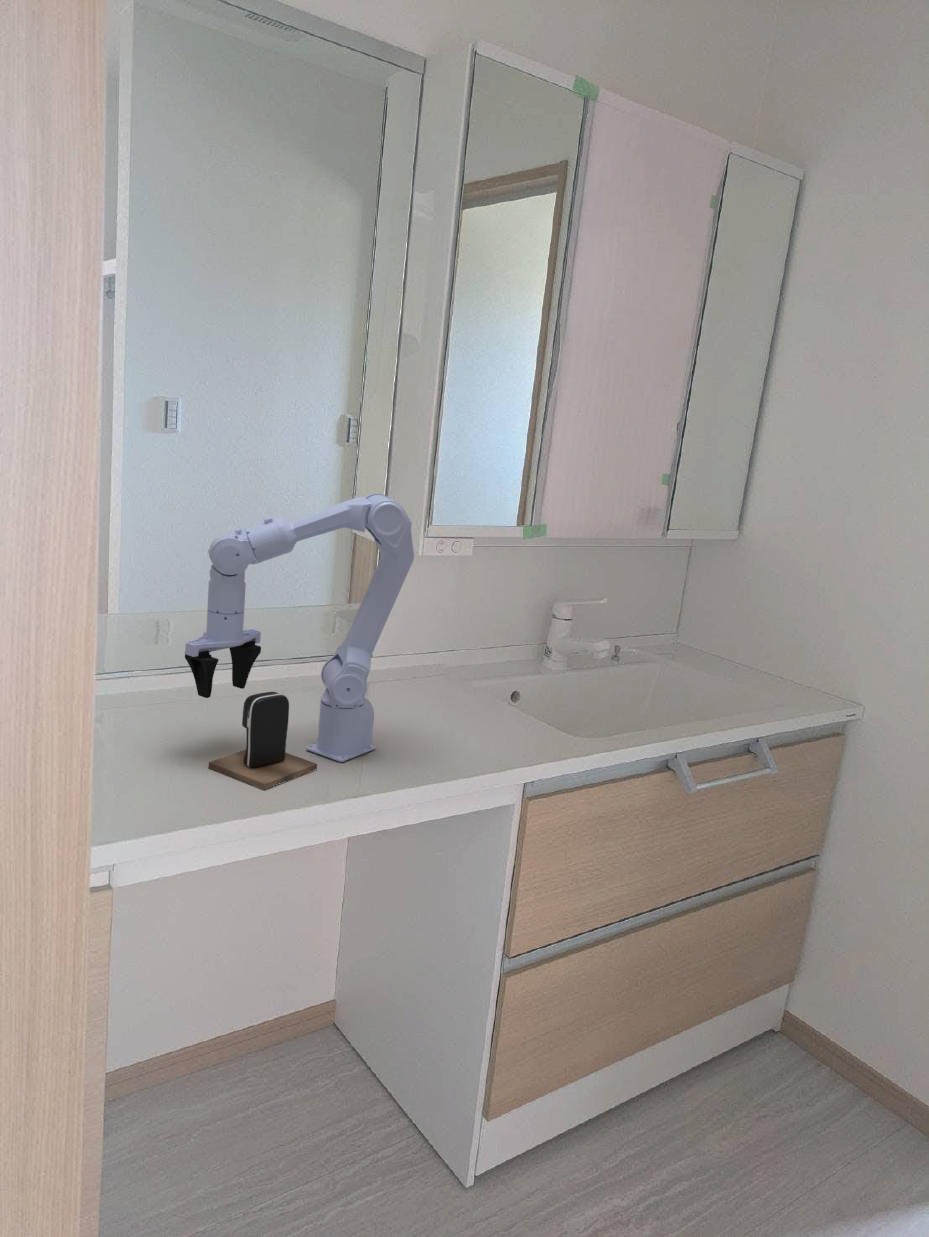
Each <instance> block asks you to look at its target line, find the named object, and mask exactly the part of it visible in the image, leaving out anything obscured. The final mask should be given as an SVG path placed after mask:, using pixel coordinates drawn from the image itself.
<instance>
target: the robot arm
mask: <svg viewBox="0 0 929 1237" xmlns="http://www.w3.org/2000/svg"><path fill="white" fill-rule="evenodd" d="M344 528H346V529H350V530H354V531H358V532H362V533H365V532H366V530H367V531H368V533H369V534H370V535H371V536H372V537H373V539H374V542H375V543H376V544H375V545H376V546H377V549H378V550H379V553H380V559H379V561H378V564H377V565H376V569H375V571H374V573H373V575H372V577H371V579H370V582H369V584H368V586H367V589H366V591H365V593H364V596H363V597H362V600H361V601H360V602H361V603H360V605H359V607H358V609H357V611H356V614H355V616H354V618H353V621H352V623H351V625H350V627H349V630H348V632H347V634H346V637H345V639H344V640H343V642H341V644H339V646H337V647H336V650H335V653H334V654H333V656H331V657H330V658H329V659H328V660H327V661H326V662H325V663H324V664H323V666H322V668H321V672H320V675H321V676H320V677H321V680H322V683H323V684H324V686H325V689H324V692H323V693H322V694H321V696H320V703H319V705H320V706H319V717H318V732H317V743H312V744H310V745H307V746H306V747H305V750H306V751H309V752H312V753H313V754H317V755H320V756H322V757H325V758H329V759H331V760H333V761H336V762H339V763H343V762H346V761H347V760H350V759H353V758H356V757H358V756H362V755H363V754H366V753H368V752H371V751H374V750H375V749H376V746H375V745H373V733H374V722H375V721H374V720H375V710H374V707H373V704H372V702H371V701H370V700H369V699H368V698H366V695H367V691H368V685H367V684H368V683H367V680H368V677H369V674H370V672H371V665H372V655H373V653H374V650H375V648H376V646H377V644H378V641H379V640H380V636H382V635H381V634H382V632H383V630H384V627H385V625H386V623H387V621H388V619H389V617H390V614H391V612H392V610H393V608H394V605H395V603H396V600H397V599H398V596H399V594H400V592H401V589H402V587H403V584H404V583H405V581H406V578H407V576H408V574H409V572H410V570H411V567H412V565H413V563H414V559H415V552H414V545H413V537H412V521H411V518H410V517H409V516H408V513H407V512H406V510H405V508H404V507H403V506H402V505H401V504H400V503H399V502H397V501H396V500H392V499H391V498H390V497H389V496H387V495H386V494H383V493H380V492H377V493H371V494H369V495H367V496H365V497H364V496H359V497H353V498H352V499H349V500H346V501H342V502H339V503H337V504H335V505H332V506H330V507H327V508H324V509H322V510H319V511H317V512H314V513H311V514H309V515H306V516H304V517H300V518H297V519H295V520H292V521H291V522H289V521H287V520H285V519H284V518H280V517H277V518H275V519H273V517H272V516H268V517H264V518H263V523H259V524H256V525H254V526H250V527H248V528H246V529H242V528H241V527H238V528H236V529H234V533H235V534H231V533H224V534H220V535H218V536H216V537H215V538H214V540H212V542H211V544H210V545H209V548H208V549H207V550H208V551H207V552H208V557H209V559H210V562H211V565H210V567H211V568H210V569H209V577H210V578H209V581H208V591H207V592H208V593H207V609H206V610H207V612H206V614H207V615H206V630H205V631H204V632H203V634H202V636H199V637H198V638H196V639H193V640H190V641H186V642H185V647H184V648H185V649H184V658H185V660H186V661H187V664H188V665H189V668H190V670H191V672H192V675H193V678H194V682H195V687H196V692H197V696H200V697H201V698H204V699H208V698H211V696H212V688H213V680H214V675H215V670H216V669H217V668H216V667H217V665H218V663H219V660H220V659H218V658H216V657H213V656H212V654H211V652H212V653H213V652H217V651H221V650H225V649H226V650H227V649H229V651H230V657H231V658H230V659H231V664H232V666H231V681H232V682H231V683H232V686H233V687H234V688H238V689H241V690H243V689H245V687H246V685H247V682H248V679H249V675H250V673H251V670H252V667H253V666H254V663H255V661H256V660H257V658H258V657H259V656H260V654H261V652H262V647H261V646H260V645H258V644H260V643H261V635H262V632H261V631H260V630H256V629H246V630H245V629H244V623H245V622H244V619H245V606H246V605H245V603H246V587H247V585H246V582H245V579H246V576H245V575H246V574H245V573H246V570H247V568H248V567H249V565H256V564H261V563H262V562H266V561H268V560H272V559H275V558H278V557H280V556H283V555H287V554H289V553H292V551H293V550H294V548H295V545H296V544H297V542H300V541H303V540H307V539H310V538H313V537H317V536H320V535H324V534H327V533H330V532H334V531H336V530H341V529H344Z"/></svg>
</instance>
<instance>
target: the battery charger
mask: <svg viewBox="0 0 929 1237" xmlns="http://www.w3.org/2000/svg"><path fill="white" fill-rule="evenodd" d="M242 707H243V709H242V717H241V719H242V721H241V726H242V727H243V728H245V729H246V744H245V745H246V747H245V748H246V749H245V750H246V753H245V756H244V760H243V761H244V763H245V764H246V765H247V766H248V767H251V768H255V767H260V766H265V765H270V764H273V763H277V762H281V761H284V760H285V752H286V747H287V738H288V737H287V736H288V728H289V727H288V726H289V716H290V715H289V714H290V702H289V698H288V697H287V696H286V695H284V694H282V693H279V692H277V691H268V692H267V691H266V692H260V693H255V694H252V695H249V696H247V697H246V699H245V700H244V702H243V706H242Z"/></svg>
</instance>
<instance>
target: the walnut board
mask: <svg viewBox="0 0 929 1237" xmlns="http://www.w3.org/2000/svg"><path fill="white" fill-rule="evenodd" d="M245 753H246V749H243V750H241V751H238V752H235V753H232V754H229V755H225V756H223V757H220V758H219V757H218V758H217V759H214V760H211V761H208V769H209V770H212V771H214V772H218V773H219V774H222V775H225V776H227V777H230V778H232V779H235V780H237V779H238V780H237V781H240V780H241V781H240V782H242V783H245V784H247V785H250V784H251V785H250V786H252V785H254V786H253V787H255V786H256V787H255V788H257V787H259V788H258V789H260V788H262V789H267V788H269V789H271V788H270V787H272V786H273V785H276V784H279V783H282V782H284V781H287V780H289V779H292V780H294V779H293V778H295V777H297V776H300V775H302V774H305V775H307V774H309V773H308V772H310V771H312V772H314V771H313V770H315V769H317V770H318V763H316V762H313V761H309V760H308V759H305V758H301V757H298V756H296V755H294V754H291V753H289V752H286V751H285V760H284V761H281V762H277V763H273V764H270V765H265V766H260V767H255V768H251V767H248V766H247V765H246V764H245V763H244V761H243V760H244V756H245ZM315 771H316V770H315ZM306 773H307V774H306ZM310 773H311V772H310ZM302 776H303V775H302ZM300 777H301V776H300ZM297 778H298V777H297ZM295 779H296V778H295ZM289 781H290V780H289ZM287 782H288V781H287ZM284 783H285V782H284ZM282 784H283V783H282ZM279 785H280V784H279ZM272 788H273V787H272ZM262 789H261V790H262ZM267 790H268V789H267Z"/></svg>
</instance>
